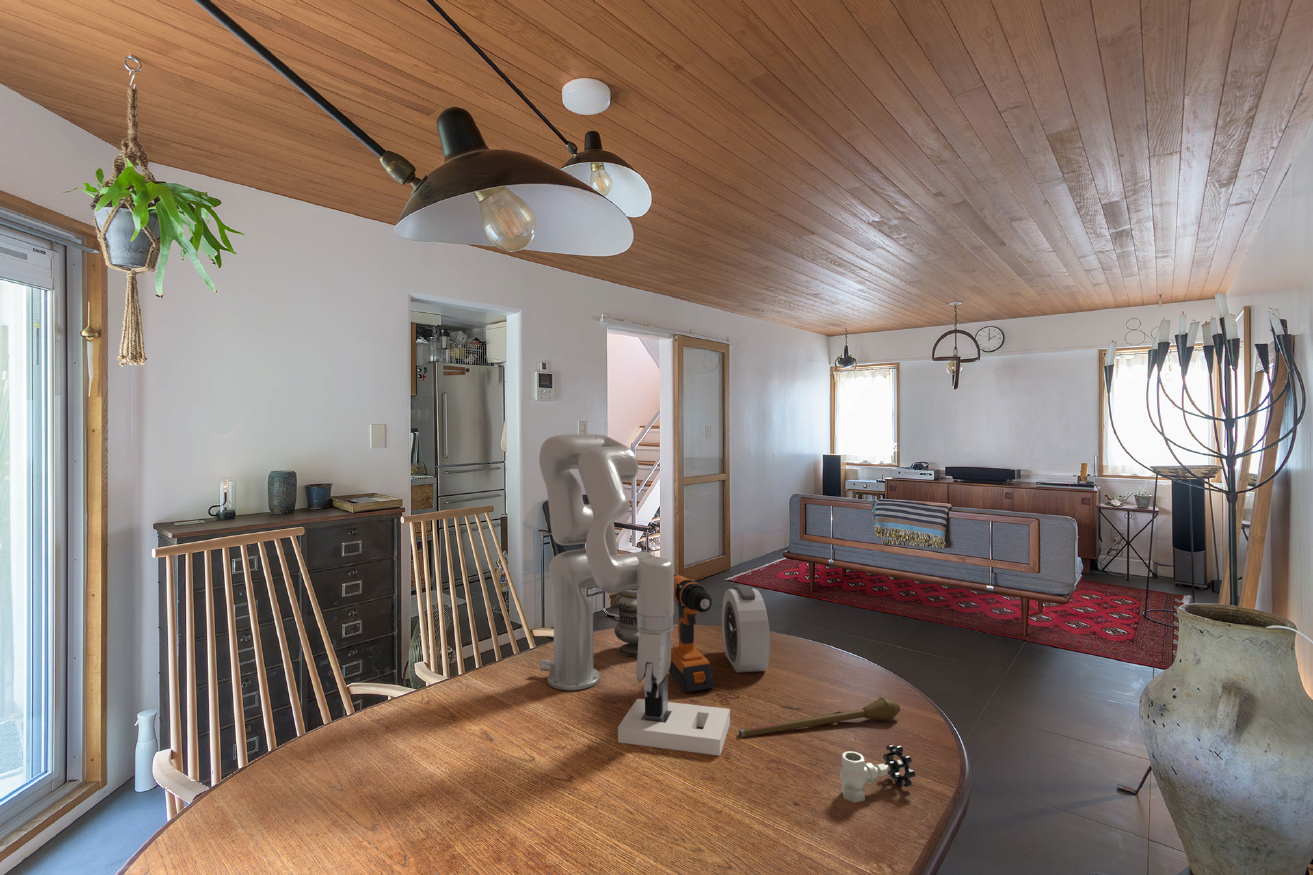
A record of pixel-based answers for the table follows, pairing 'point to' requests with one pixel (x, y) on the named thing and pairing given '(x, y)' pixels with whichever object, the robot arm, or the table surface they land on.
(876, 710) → the olive long knobbed bar
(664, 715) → the square peg
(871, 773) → the valve
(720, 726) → the hole board
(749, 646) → the alarm clock
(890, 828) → the table surface
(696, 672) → the power drill
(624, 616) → the apothecary jar
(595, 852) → the table surface
